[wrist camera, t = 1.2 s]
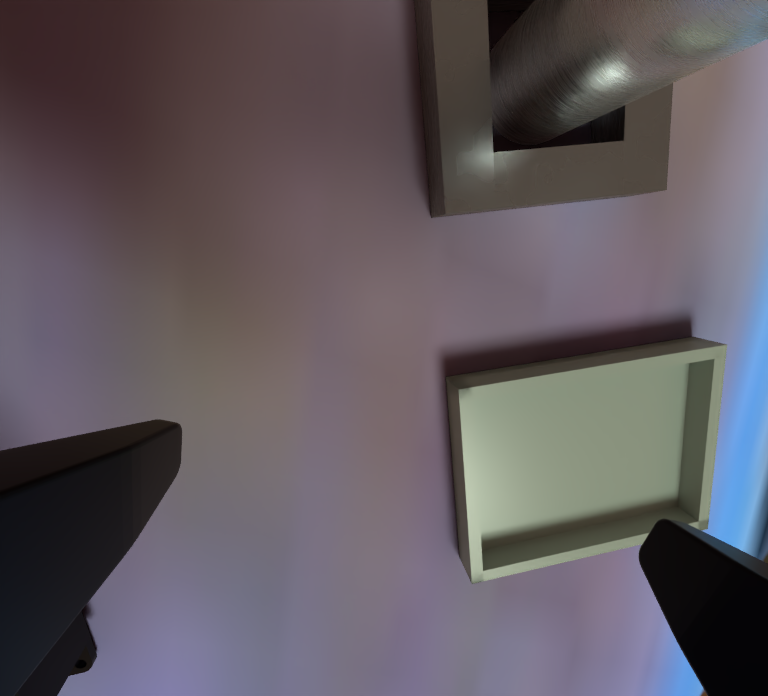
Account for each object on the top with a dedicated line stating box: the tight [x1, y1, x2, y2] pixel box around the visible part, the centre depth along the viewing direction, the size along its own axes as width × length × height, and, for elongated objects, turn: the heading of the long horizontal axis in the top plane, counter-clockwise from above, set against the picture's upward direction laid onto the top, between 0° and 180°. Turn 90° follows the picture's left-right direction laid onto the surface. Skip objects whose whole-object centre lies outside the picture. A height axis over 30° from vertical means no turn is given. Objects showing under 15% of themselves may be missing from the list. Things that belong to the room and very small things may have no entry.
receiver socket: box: [414, 0, 673, 218], centre depth 16 cm, size 9×9×2 cm
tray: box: [446, 337, 727, 584], centre depth 20 cm, size 13×10×2 cm
